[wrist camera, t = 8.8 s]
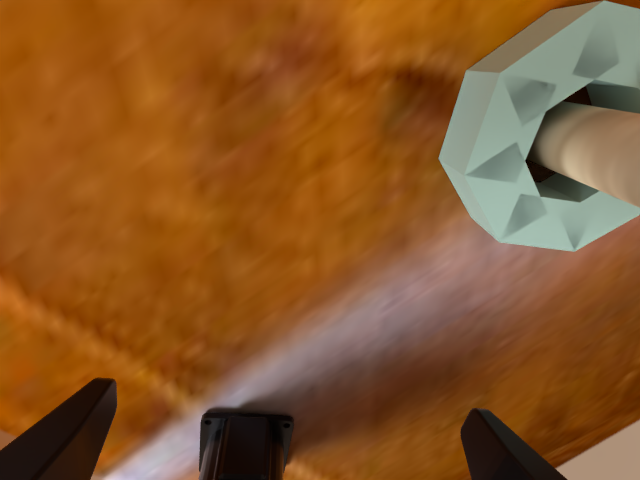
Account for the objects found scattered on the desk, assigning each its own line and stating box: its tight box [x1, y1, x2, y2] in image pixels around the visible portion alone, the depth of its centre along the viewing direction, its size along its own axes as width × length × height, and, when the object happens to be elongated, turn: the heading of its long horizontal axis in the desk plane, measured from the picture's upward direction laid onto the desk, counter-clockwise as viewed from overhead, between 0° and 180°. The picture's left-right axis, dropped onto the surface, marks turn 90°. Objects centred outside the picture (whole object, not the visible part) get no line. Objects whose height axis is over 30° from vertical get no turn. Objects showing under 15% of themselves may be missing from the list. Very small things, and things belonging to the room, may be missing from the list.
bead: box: [439, 0, 640, 251], centre depth 17 cm, size 10×10×3 cm
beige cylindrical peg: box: [526, 101, 640, 208], centre depth 15 cm, size 3×3×8 cm
